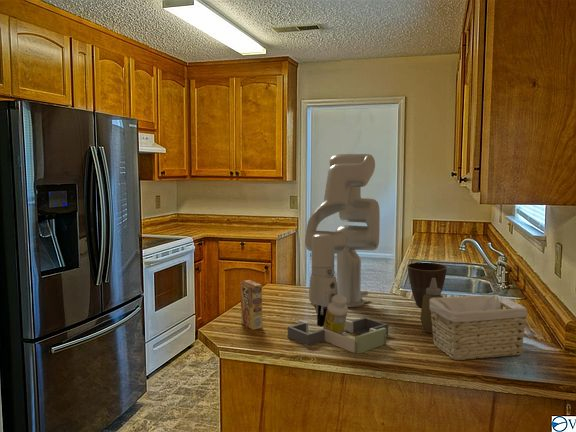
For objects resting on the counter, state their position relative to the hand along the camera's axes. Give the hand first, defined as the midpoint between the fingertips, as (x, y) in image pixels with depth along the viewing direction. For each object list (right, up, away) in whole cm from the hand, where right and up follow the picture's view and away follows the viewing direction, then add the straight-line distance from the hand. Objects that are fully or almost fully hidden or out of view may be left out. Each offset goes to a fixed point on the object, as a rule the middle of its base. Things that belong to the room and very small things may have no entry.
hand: (322, 325), depth 164 cm
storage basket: (+45, -4, -16) cm, 48 cm away
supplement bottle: (+3, -2, -3) cm, 4 cm away
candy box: (-24, -2, +7) cm, 25 cm away
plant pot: (+43, +1, +30) cm, 52 cm away
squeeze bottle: (+37, -2, +1) cm, 37 cm away
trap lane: (+6, -3, -5) cm, 8 cm away
